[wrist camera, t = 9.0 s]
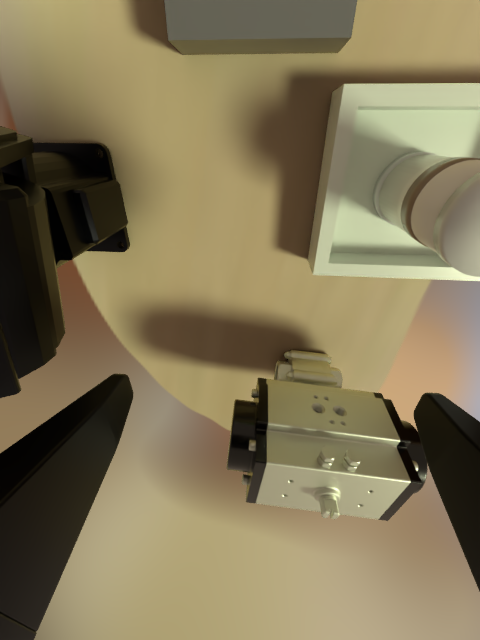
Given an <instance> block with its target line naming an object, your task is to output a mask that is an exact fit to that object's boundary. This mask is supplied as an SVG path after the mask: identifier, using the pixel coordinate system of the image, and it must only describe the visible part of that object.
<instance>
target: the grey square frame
mask: <svg viewBox="0 0 480 640" xmlns="http://www.w3.org/2000/svg"><path fill="white" fill-rule="evenodd" d="M164 3H165V13H166V23H167V33H168V41H169V42H170V43H171V44H172V45H173V46H174V47H175V48H176V49H177V50H178V51H179V52H180V53H181V54H182V55H199V54H281V53H338V52H339V51H340V50H341V49H342V48H343V46H344V45H345V44H346V43H347V42H348V41H349V39H350V38H351V35H352V29H353V23H354V17H355V11H356V5H357V0H164Z"/></svg>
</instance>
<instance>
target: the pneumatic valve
mask: <svg viewBox="0 0 480 640" xmlns="http://www.w3.org/2000/svg"><path fill="white" fill-rule="evenodd" d="M284 357H285V358H286V359H288V362H284V361H278V362H277V363H276V367H275V373H274V380H271V379H264V378H258V381H257V386H256V389H252V397H253V398H254V402H253V401H245V400H238V399H236V400H235V403H234V410H233V418H232V426H231V435H230V442H229V450H228V459H227V469H228V470H234V471H242V472H247V475H244V474H243V476H242V484H244V485H247V490H246V502H249V503H256V504H264V505H272V506H279V507H288V508H295V509H302V510H311V511H317V512H321V515H322V517H323V518H327V517H328V516H329V514H330V517H331V519H336V518H338V517H339V514H340V515H348V516H355V517H363V518H371V519H378V520H386V521H388V520H389V519H390V518H391V517H392V516H393V515H394V514H395V513H396V511H397V510H398V509H399V508H400V507H401V506H402V505H403V504H404V503H405V502H406V501H407V500H408V499H409V497H410V496H411V495H412V494H413V493H417V492H418V491H419V490H420V489H421V488H422V487H423V485H424V483H425V480H426V476H427V460H426V457H425V453H424V450H423V447H422V443H421V440H420V436H419V433H418V432H417V430H416V429H415V428H414V427H413V426H412V425H411V424H410V423H408V422H406V421H401V420H400V418H399V416H398V414H397V412H396V410H395V407H394V405H393V403H392V401H391V400H388V399H384V398H383V395H382V394H381V393H373V392H366V391H358V390H350V389H342V374H341V371H340V370H339V369H337V368H332V367H330V365H329V364H330V363H331V357H328V355H327V354H321V353H313V352H305V351H297V350H290V351H289V352H287V351H286V353H284Z"/></svg>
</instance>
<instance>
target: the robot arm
mask: <svg viewBox="0 0 480 640" xmlns="http://www.w3.org/2000/svg"><path fill="white" fill-rule="evenodd" d="M99 149H100V150H101V151H102V152H103V157H102V158H101V157H100V156H99V154H98V150H99ZM127 224H128V221H127V216H126V212H125V207H124V202H123V197H122V193H121V188H120V184H119V183H118V182H117V181H116V178H115V173H114V168H113V164H112V159H111V155H110V151H109V149H108V148H107V147H106V146H105V145H104V144H100V143H33V141H32V138H31V137H28V136H24V135H20V134H17V133H16V131H14V130H11V129H8V128H5V127H2V126H0V398H2V397H6V396H10V395H15V394H17V393H19V392H20V391H21V387H20V384H19V380H18V379H20V378H21V377H23V376H25V375H27V374H29V373H31V372H32V371H34V370H36V369H38V368H40V367H41V366H43V365H45V364H46V363H47V362H48V361H49V360H50V359H52V358H53V357H54V356H55V355H56V348H57V347H58V346H59V344H60V342H61V339H62V338H63V336H64V334H65V322H64V315H63V308H62V302H61V295H60V288H59V282H58V276H57V268H58V267H60V266H61V265H63V264H64V263H66V262H68V261H69V260H72V259H74V258H75V257H77V256H78V255H80V254H82V253H83V252H85V251H105V252H125V251H126V250H127V249H129V247H130V242H129V238H128V233H127V228H126V225H127ZM119 241H120V242H122V243H123V244H124V247H122V246H121V245H120V243H119ZM132 400H133V390H132V387H131V383H130V380H129V377H128V376H127V375H126V374H113V375H111V376H110V377H108V378H107V379H105V380H104V381H103V382H101V383H100V384H98V385H97V386H96V387H94V388H93V389H91V390H90V391H88V392H87V393H86V394H84V395H83V396H81V397H80V398H78V399H77V400H76V401H74V402H73V403H71V404H70V405H68V406H67V407H66V408H64V409H63V410H61V411H60V412H59V413H57V414H56V415H54V416H53V417H51V418H50V419H49V420H47V421H46V422H44V423H43V424H41V425H40V426H39V427H37V428H36V429H34V430H33V431H32V432H30V433H29V434H28V435H26V436H24V437H23V438H22V439H20V440H19V441H18V442H16V443H15V444H13V445H12V446H10V447H9V448H8V449H6V450H5V451H3V452H2V453H0V640H34V638H35V636H36V631H37V630H38V628H39V626H40V623H41V621H42V619H43V617H44V615H45V612H46V610H47V608H48V605H49V603H50V601H51V598H52V596H53V594H54V592H55V589H56V587H57V585H58V582H59V580H60V578H61V575H62V573H63V571H64V569H65V566H66V564H67V562H68V559H69V557H70V555H71V552H72V550H73V548H74V545H75V543H76V541H77V538H78V536H79V534H80V532H81V530H82V527H83V525H84V523H85V520H86V518H87V516H88V513H89V511H90V509H91V506H92V504H93V502H94V500H95V497H96V495H97V493H98V490H99V488H100V486H101V484H102V481H103V479H104V477H105V474H106V472H107V470H108V467H109V465H110V463H111V461H112V458H113V456H114V454H115V451H116V449H117V446H118V444H119V441H120V438H121V435H122V431H123V428H124V425H125V422H126V419H127V416H128V413H129V409H130V406H131V403H132ZM414 420H415V423H416V426H417V430H418V433H419V436H420V440H421V443H422V447H423V450H424V453H425V457H426V460H427V463H428V466H429V469H430V472H431V474H432V477H433V479H434V482H435V484H436V487H437V489H438V491H439V494H440V496H441V499H442V501H443V504H444V506H445V509H446V511H447V513H448V516H449V518H450V521H451V523H452V526H453V528H454V530H455V533H456V535H457V538H458V540H459V542H460V545H461V547H462V550H463V552H464V555H465V557H466V559H467V562H468V564H469V567H470V569H471V572H472V574H473V576H474V579H475V581H476V584H477V586H478V588H479V591H480V422H479V421H478V420H476V419H475V418H474V417H472V416H471V415H469V414H468V413H467V412H465V411H464V410H462V409H461V408H460V407H458V406H457V405H456V404H454V403H453V402H451V401H450V400H449V399H447V398H446V397H445V396H443V395H441V394H439V393H425V394H423V395H422V397H421V399H420V401H419V402H418V404H417V406H416V408H415V410H414Z"/></svg>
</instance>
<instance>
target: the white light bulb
mask: <svg viewBox="0 0 480 640" xmlns="http://www.w3.org/2000/svg"><path fill="white" fill-rule="evenodd" d="M372 199H373V206H374V209H375V211H376V212H377V214H378V215H379V216H380V217H381V218H382V219H384V220H385V221H387V222H388V223H390V224H392V225H395V226H397V227H399V228H400V229H402V230H403V231H405V232H406V233H407V234H408V235H409V236H410V237H412V238H413V239H415V240H416V241H418V242H419V243H421V244H422V245H424V246H426V247H429V248H430V249H432V250H433V251H435V252H436V253H437V254H438V255H439V256H440V258H441V259H442V260H443V261H445V262H446V263H447V264H449V265H450V266H452V267H453V268H455V269H456V270H458V271H459V272H461V273H463V274H466V275H469V276H475V277H480V158H469V157H446V156H439V155H437V154H434V153H429V152H411V153H407V154H404V155H402V156H400V157H398V158H396V159H395V160H394V161H392V162H391V163H390V164H389V165H388V166H387V167H386V168H385V169H384V170H383V171H382V173H381V174H380V175H379V177H378V179H377V181H376V183H375V186H374V189H373V198H372Z"/></svg>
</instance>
